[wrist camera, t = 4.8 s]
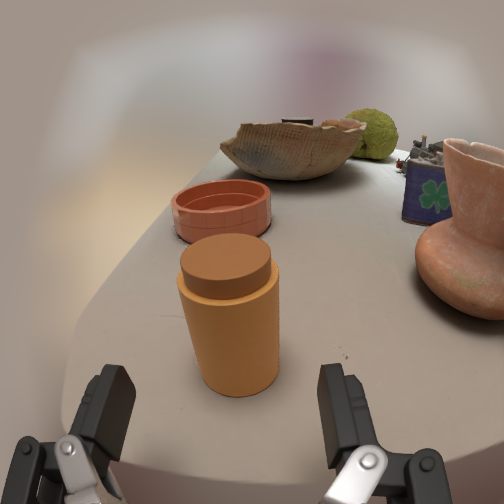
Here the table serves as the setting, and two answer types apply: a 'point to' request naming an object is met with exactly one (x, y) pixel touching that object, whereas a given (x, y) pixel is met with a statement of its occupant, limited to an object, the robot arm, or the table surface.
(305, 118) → the coffee mug
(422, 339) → the table surface
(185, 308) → the orange lidded canister
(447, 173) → the ceramic jug
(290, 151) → the ceramic bowl
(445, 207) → the flask
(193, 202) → the terracotta bowl
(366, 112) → the fruit
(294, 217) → the table surface
